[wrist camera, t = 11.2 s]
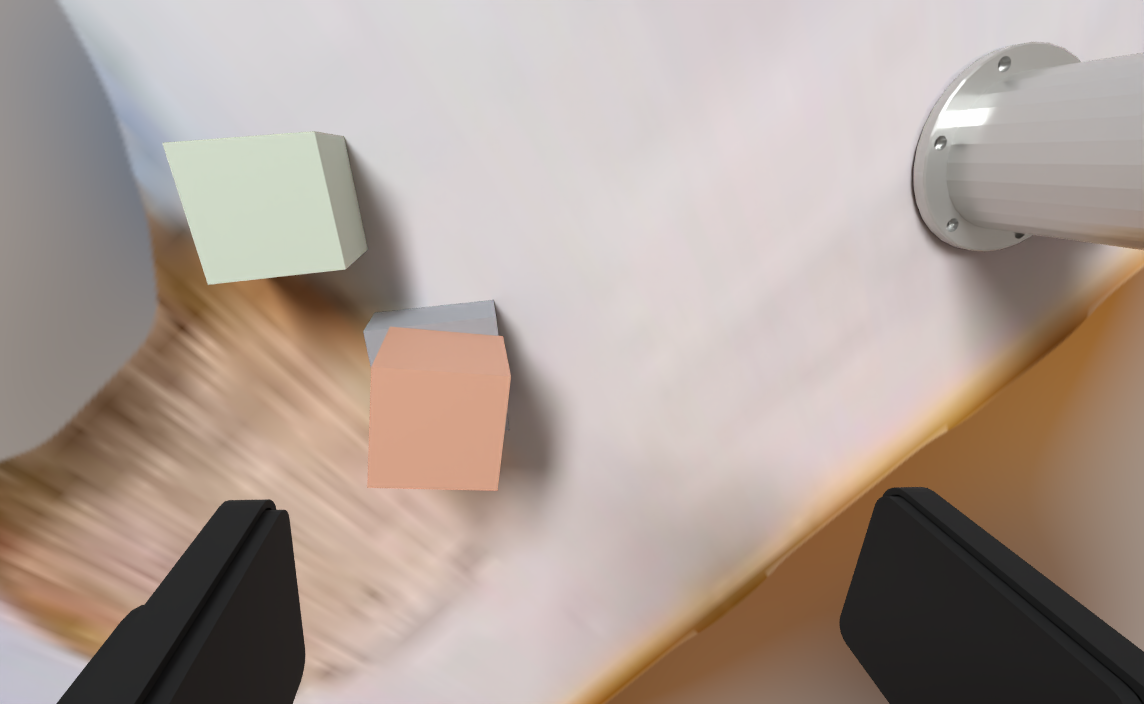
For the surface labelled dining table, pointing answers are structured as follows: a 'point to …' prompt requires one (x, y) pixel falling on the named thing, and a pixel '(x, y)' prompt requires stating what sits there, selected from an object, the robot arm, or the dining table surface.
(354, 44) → the dining table surface
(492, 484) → the terracotta cube
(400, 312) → the slate-grey block
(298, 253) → the sage cube
